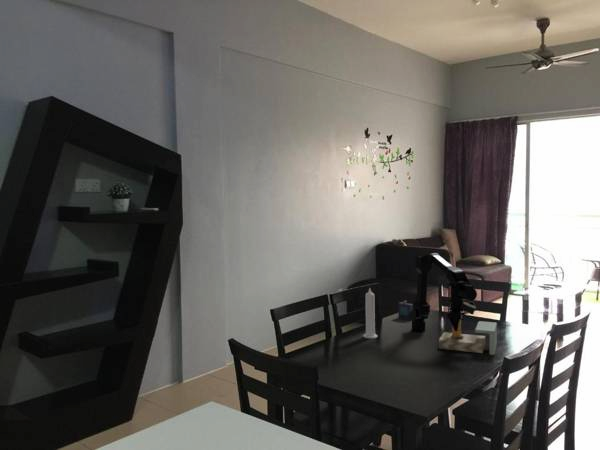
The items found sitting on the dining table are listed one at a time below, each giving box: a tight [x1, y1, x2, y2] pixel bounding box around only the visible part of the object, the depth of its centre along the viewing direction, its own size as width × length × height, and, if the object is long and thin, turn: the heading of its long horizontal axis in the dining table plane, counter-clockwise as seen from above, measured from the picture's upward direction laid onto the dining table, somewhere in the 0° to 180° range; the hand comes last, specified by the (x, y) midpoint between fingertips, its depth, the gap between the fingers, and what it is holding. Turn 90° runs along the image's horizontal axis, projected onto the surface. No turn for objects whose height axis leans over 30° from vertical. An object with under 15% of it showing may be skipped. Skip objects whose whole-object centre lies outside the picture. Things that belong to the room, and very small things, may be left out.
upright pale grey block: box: [474, 320, 498, 356], centre depth 228 cm, size 8×16×11 cm, turn 155°
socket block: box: [438, 331, 486, 354], centre depth 233 cm, size 19×14×4 cm
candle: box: [363, 287, 378, 340], centre depth 251 cm, size 7×7×25 cm
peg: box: [451, 319, 462, 337], centre depth 233 cm, size 4×4×10 cm
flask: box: [398, 300, 414, 321], centre depth 286 cm, size 9×3×11 cm, turn 44°
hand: (456, 329), depth 234 cm, fingers closed on peg, 4 cm apart
